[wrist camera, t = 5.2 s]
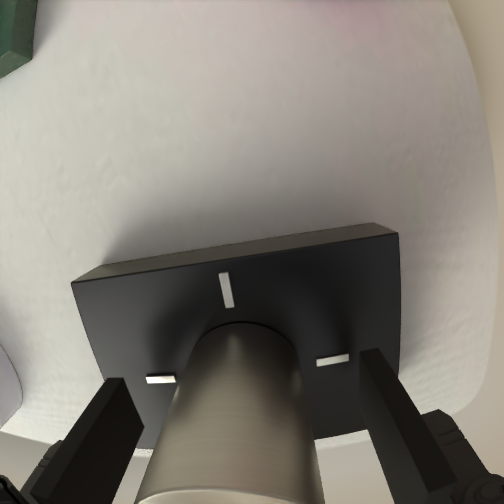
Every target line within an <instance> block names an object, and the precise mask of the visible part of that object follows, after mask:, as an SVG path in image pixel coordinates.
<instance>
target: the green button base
mask: <svg viewBox="0 0 504 504" xmlns="http://www.w3.org/2000/svg"><path fill="white" fill-rule="evenodd" d="M36 7H37V0H0V79H1V78H2V77H4V76H5V75H7V74H9V73H10V72H12V71H13V70H15V69H17V68H18V67H20V66H22V65H23V64H25V63H27V62H29V61H30V60H32V47H33V34H34V23H35V14H36Z"/></svg>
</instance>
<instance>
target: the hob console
mask: <svg viewBox="0 0 504 504" xmlns="http://www.w3.org/2000/svg"><path fill="white" fill-rule="evenodd" d="M71 287H72V290H73V294H74V297H75V300H76V304H77V307H78V310H79V313H80V316H81V319H82V322H83V325H84V328H85V331H86V334H87V337H88V340H89V342H90V345H91V348H92V350H93V353H94V356H95V358H96V361H97V363H98V366H99V368H100V371H101V373H102V376H103V378H104V381H106V379H107V378H108V377H123V378H124V380H125V383H126V385H127V388H128V390H129V393H130V395H131V397H132V400H133V402H134V404H135V407H136V409H137V411H138V413H139V416H140V418H141V420H142V422H143V424H144V426H145V428H144V430H143V432H142V434H141V437H140V439H139V441H138V444H137V446H136V448H138V449H154V447H155V445H156V442H157V440H158V437H159V434H160V432H161V429H162V426H163V424H164V421H165V418H166V416H167V413H168V411H169V408H170V405H171V403H172V400H173V397H174V395H175V392H176V390H177V387H178V385H179V382H180V379H181V377H182V374H183V372H184V369H185V367H186V364H187V361H188V359H189V356H190V354H191V352H192V349H193V348H194V346H195V345H196V343H197V342H198V341H199V340H200V339H201V338H202V337H203V336H204V335H205V334H207V333H209V332H210V331H212V330H214V329H216V328H218V327H221V326H225V325H229V324H235V323H250V324H256V325H260V326H264V327H266V328H269V329H271V330H273V331H275V332H277V333H278V334H280V335H281V336H283V337H284V338H285V339H286V340H287V341H288V342H289V343H290V344H291V345H292V347H293V348H294V350H295V351H296V353H297V356H298V358H299V362H300V367H301V372H302V378H303V383H304V388H305V393H306V399H307V404H308V409H309V415H310V420H311V425H312V431H313V436H314V440H317V439H322V438H328V437H333V436H338V435H343V434H348V433H353V432H357V431H362V430H366V429H367V427H366V424H365V421H364V419H363V416H362V414H361V411H360V409H359V352H360V351H364V350H369V349H374V348H379V349H380V351H381V352H382V354H383V355H384V357H385V359H386V360H387V362H388V363H389V365H390V366H391V368H392V369H393V371H394V373H395V374H396V376H397V377H398V373H399V357H400V334H401V273H400V250H399V234H398V232H395V231H393V230H391V229H388V228H386V227H383V226H381V225H378V224H376V223H367V224H361V225H354V226H347V227H340V228H334V229H327V230H320V231H314V232H307V233H300V234H294V235H287V236H281V237H274V238H268V239H261V240H255V241H248V242H242V243H235V244H229V245H223V246H216V247H210V248H204V249H198V250H191V251H185V252H179V253H173V254H167V255H160V256H154V257H148V258H142V259H136V260H130V261H124V262H118V263H112V264H106V265H100V266H98V267H96V268H94V269H93V270H91V271H89V272H88V273H86V274H84V275H82V276H81V277H79V278H77V279H76V280H74V281H72V282H71Z"/></svg>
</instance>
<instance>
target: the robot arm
mask: <svg viewBox="0 0 504 504" xmlns="http://www.w3.org/2000/svg"><path fill="white" fill-rule="evenodd" d="M359 409H360V411H361V414H362V416H363V419H364V421H365V424H366V427H367V429H368V432H369V435H370V437H371V440H372V442H373V445H374V448H375V450H376V453H377V456H378V459H379V461H380V464H381V467H382V469H383V472H384V475H385V478H386V480H387V483H388V486H389V489H390V492H391V495H392V497H393V500H394V503H395V504H504V477H501V476H500V475H497V474H491V473H489V472H488V470H487V469H486V468H485V466H484V465H483V463H482V462H481V460H480V459H479V457H478V456H477V454H476V453H475V451H474V450H473V448H472V447H471V445H470V444H469V442H468V441H467V439H465V438H464V435H463V433H462V432H461V431H460V430H459V429H458V426H457V425H456V423H455V422H454V420H453V419H452V417H451V416H449V415H447V414H446V413H444V412H443V411H441V410H439V409H437V410H434V411H432V412H429V413H426V414H422V415H420V413H419V411H418V410H417V408H416V406H415V405H414V403H413V402H412V400H411V398H410V397H409V395H408V393H407V392H406V390H405V389H404V387H403V385H402V384H401V382H400V381H399V379H398V377H397V376H396V374H395V373H394V371H393V369H392V368H391V366H390V365H389V363H388V362H387V360H386V359H385V357H384V355H383V354H382V352H381V351H380V349H379V348H374V349H369V350H364V351H360V352H359ZM144 428H145V426H144V424H143V422H142V420H141V418H140V416H139V413H138V411H137V409H136V407H135V404H134V402H133V400H132V397H131V395H130V393H129V390H128V388H127V385H126V383H125V380H124V378H123V377H108V378H107V379H106V381H105V382H104V383H103V385H102V386H101V388H100V389H99V390H98V392H97V393H96V395H95V396H94V397H93V399H92V400H91V402H90V403H89V404H88V406H87V407H86V409H85V410H84V412H83V413H82V414H81V416H80V417H79V419H78V420H77V422H76V423H75V424H74V426H73V427H72V429H71V430H70V432H69V433H68V435H67V436H66V438H65V439H64V440H63V441H62V440H59V441H57V442H56V443H55V444H54V445H52V446H51V447H50V448H49V449H48V451H47V452H46V453H45V455H44V456H43V459H41V461H40V462H39V464H38V466H36V468H35V469H34V471H33V473H32V474H31V475H30V477H29V478H28V480H27V481H26V483H25V484H24V486H23V487H22V489H21V490H20V491H18V490H17V489H16V487H15V486H14V485H13V484H12V483H11V482H10V480H9V479H8V478H7V477H5V476H4V475H0V504H112V502H113V499H114V497H115V495H116V492H117V490H118V488H119V485H120V483H121V481H122V478H123V476H124V474H125V471H126V469H127V466H128V464H129V462H130V459H131V457H132V455H133V453H134V450H135V448H136V446H137V444H138V441H139V439H140V437H141V434H142V432H143V430H144Z"/></svg>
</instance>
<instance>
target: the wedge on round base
mask: <svg viewBox="0 0 504 504" xmlns="http://www.w3.org/2000/svg"><path fill="white" fill-rule="evenodd" d="M21 404H22V390H21V386H20V382H19V379H18V377H17V374H16V372H15V369H14V367H13V365H12V363H11V361H10V360H9V358H8V356H7V354H6V353H5V351H4V350H3V348H2V347H1V345H0V429H1V428H2V427H3V426H4V424H5V423H6V422H7V421H8V420H9V419H10V418H11V417H12V416H13V415H14V413H15V412H16V411H17V410H18V409H19V408H20V406H21Z"/></svg>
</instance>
